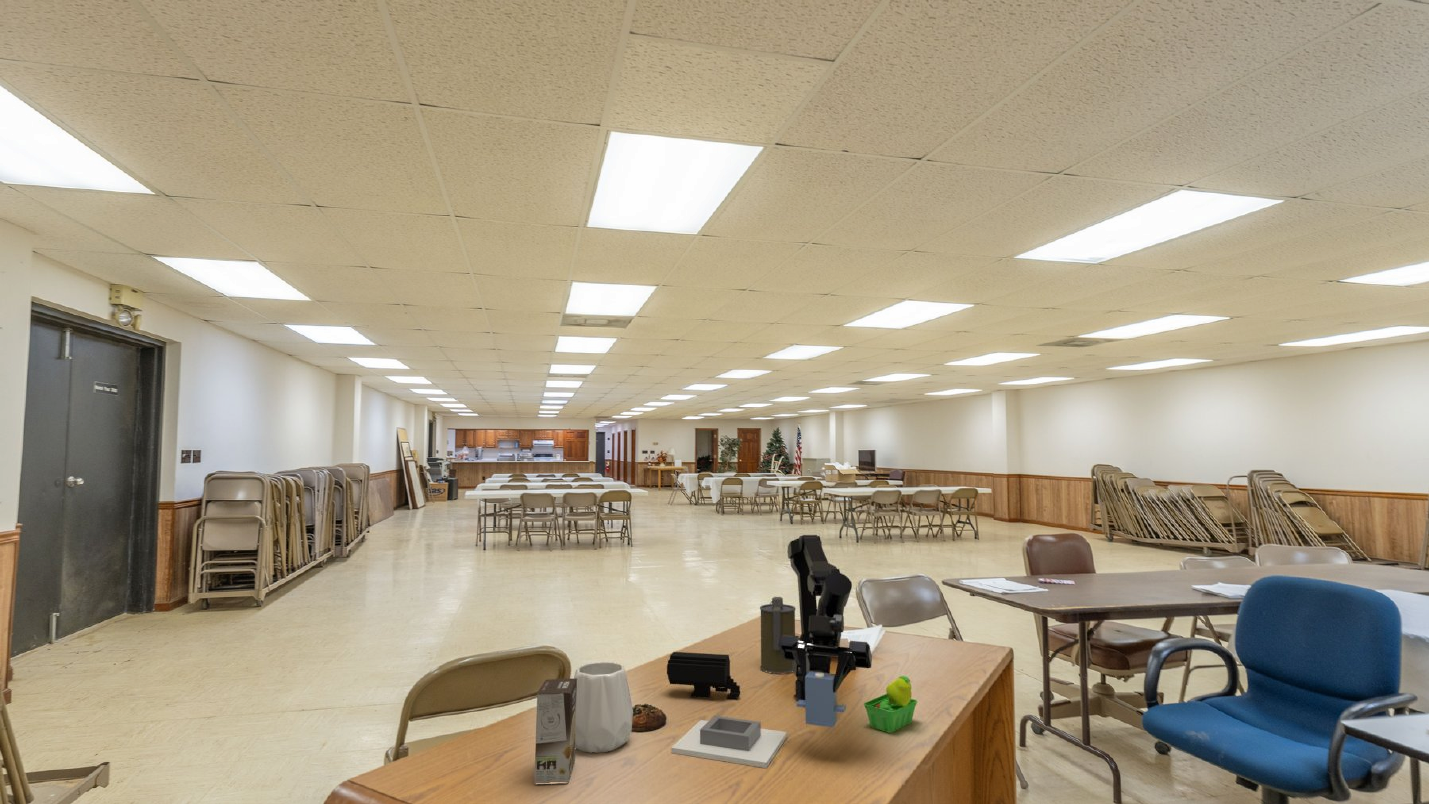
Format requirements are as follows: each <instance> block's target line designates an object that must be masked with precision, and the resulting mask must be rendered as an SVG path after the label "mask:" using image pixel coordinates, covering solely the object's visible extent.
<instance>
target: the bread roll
mask: <svg viewBox="0 0 1429 804" xmlns="http://www.w3.org/2000/svg"><path fill="white" fill-rule="evenodd" d="M632 708H633V719H632V730H631V732H632V731H633V732H648V731H650V732H651V731H654V730H658V729H660V728H662V727H664V726H666V723H667V719H668V717H667V715H666V714H665V713H664V711H663V710H662V709H659V707H656V706H653V705H652V704H648V703H644V704H643V703H642V704H641V703H639V704H635V705H634V706H633V705H632Z"/></svg>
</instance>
